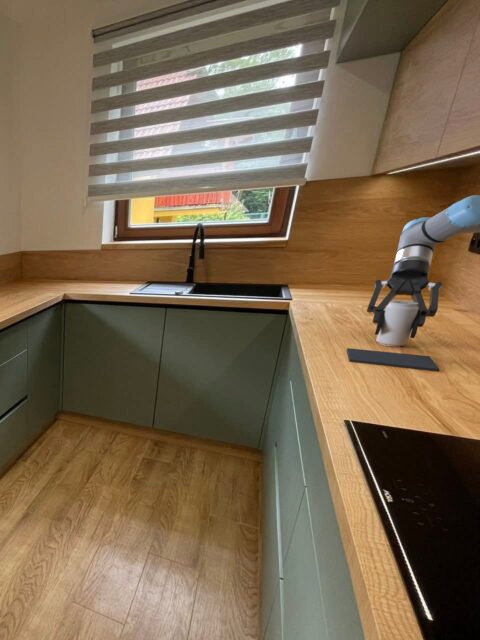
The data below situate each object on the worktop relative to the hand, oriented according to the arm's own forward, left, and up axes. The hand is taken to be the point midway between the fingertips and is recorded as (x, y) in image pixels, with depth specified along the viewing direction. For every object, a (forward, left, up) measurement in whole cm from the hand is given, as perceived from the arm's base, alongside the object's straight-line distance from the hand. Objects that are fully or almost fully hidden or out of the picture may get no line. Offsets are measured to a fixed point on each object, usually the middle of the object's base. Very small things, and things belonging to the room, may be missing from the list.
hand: (395, 333), depth 117 cm
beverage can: (0, -4, -4) cm, 5 cm away
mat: (+2, +14, -4) cm, 15 cm away
